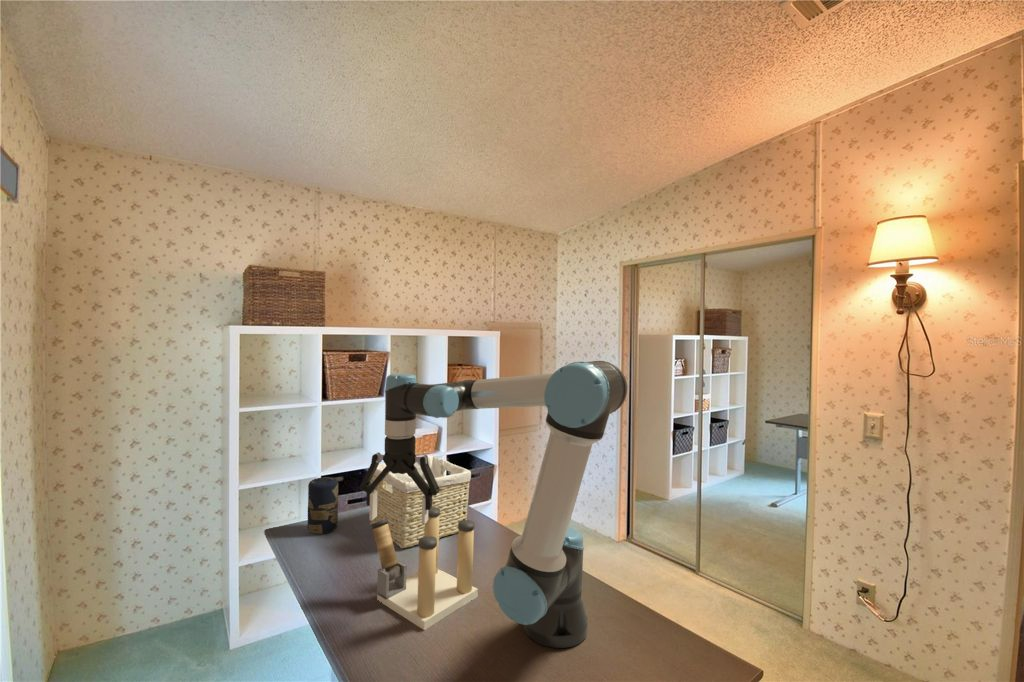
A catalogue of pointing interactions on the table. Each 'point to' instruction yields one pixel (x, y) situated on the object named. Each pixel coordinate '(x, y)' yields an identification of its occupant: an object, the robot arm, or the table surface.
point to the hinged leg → (386, 549)
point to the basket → (404, 501)
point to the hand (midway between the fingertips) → (398, 520)
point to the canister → (322, 505)
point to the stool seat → (431, 578)
